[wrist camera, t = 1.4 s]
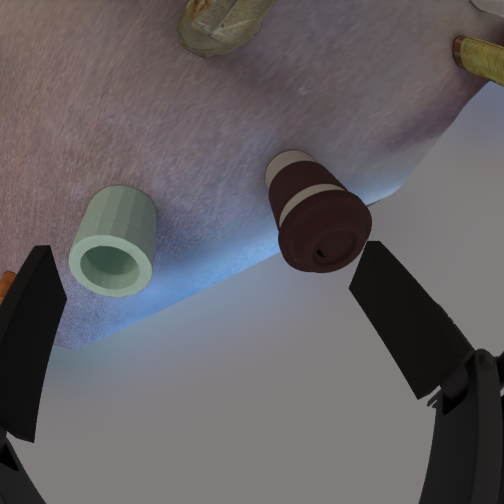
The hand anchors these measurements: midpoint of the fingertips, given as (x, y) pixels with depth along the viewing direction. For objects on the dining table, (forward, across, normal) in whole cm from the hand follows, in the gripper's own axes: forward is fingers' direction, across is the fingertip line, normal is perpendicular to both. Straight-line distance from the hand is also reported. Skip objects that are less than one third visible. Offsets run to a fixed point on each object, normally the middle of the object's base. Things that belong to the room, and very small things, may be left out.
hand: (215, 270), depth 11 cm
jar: (+27, -10, -11) cm, 31 cm away
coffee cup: (+26, +13, -4) cm, 29 cm away
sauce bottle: (+21, +36, +23) cm, 48 cm away
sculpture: (+23, 0, +14) cm, 27 cm away
